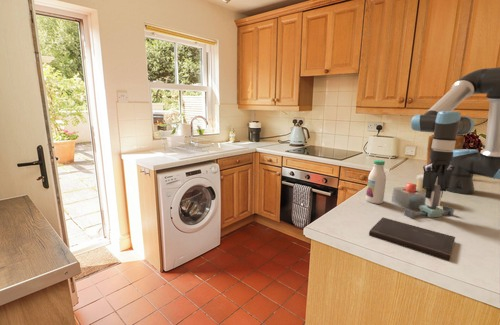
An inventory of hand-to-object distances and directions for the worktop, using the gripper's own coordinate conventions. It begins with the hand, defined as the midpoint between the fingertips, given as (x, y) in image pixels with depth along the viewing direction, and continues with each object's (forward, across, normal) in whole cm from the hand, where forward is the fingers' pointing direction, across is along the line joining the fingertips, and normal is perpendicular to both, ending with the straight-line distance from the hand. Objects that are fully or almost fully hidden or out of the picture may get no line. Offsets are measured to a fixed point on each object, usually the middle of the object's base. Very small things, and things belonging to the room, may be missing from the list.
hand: (432, 205), depth 111 cm
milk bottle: (+5, +13, -19) cm, 23 cm away
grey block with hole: (+5, 0, -12) cm, 13 cm away
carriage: (+5, 0, 0) cm, 5 cm away
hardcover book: (+5, +25, +16) cm, 30 cm away
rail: (+5, +1, 0) cm, 5 cm away
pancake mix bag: (+4, -66, -56) cm, 87 cm away
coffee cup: (+5, -14, -17) cm, 23 cm away
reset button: (+1, 0, -12) cm, 12 cm away
